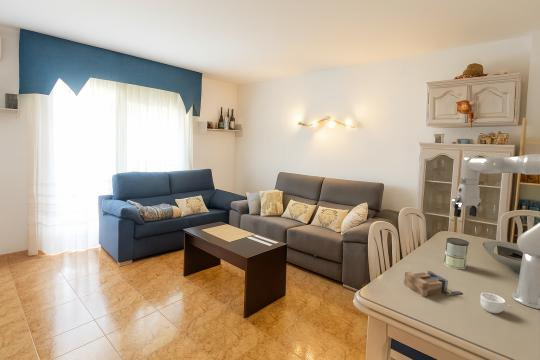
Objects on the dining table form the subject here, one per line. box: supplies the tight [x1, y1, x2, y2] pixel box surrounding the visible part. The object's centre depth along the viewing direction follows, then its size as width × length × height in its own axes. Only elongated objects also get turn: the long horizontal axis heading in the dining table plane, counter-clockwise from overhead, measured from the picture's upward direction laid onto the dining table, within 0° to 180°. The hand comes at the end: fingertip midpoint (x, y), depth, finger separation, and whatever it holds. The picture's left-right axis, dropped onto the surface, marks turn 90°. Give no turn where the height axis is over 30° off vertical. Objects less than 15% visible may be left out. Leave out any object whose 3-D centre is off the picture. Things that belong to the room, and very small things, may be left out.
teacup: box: [479, 292, 513, 314], centre depth 115 cm, size 10×8×5 cm
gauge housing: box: [403, 271, 463, 298], centre depth 131 cm, size 13×20×6 cm, turn 106°
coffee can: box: [443, 237, 470, 270], centre depth 158 cm, size 10×10×14 cm
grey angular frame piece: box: [423, 270, 452, 293], centre depth 131 cm, size 12×10×5 cm
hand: (464, 216), depth 144 cm, fingers open, 9 cm apart
